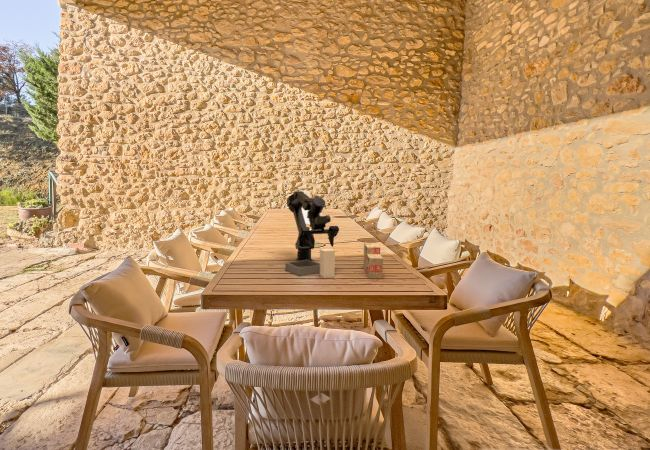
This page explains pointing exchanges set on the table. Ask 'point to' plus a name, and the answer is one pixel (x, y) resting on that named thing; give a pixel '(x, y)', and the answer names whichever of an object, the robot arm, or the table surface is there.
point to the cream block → (327, 262)
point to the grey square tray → (303, 267)
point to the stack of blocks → (373, 260)
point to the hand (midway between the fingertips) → (323, 246)
